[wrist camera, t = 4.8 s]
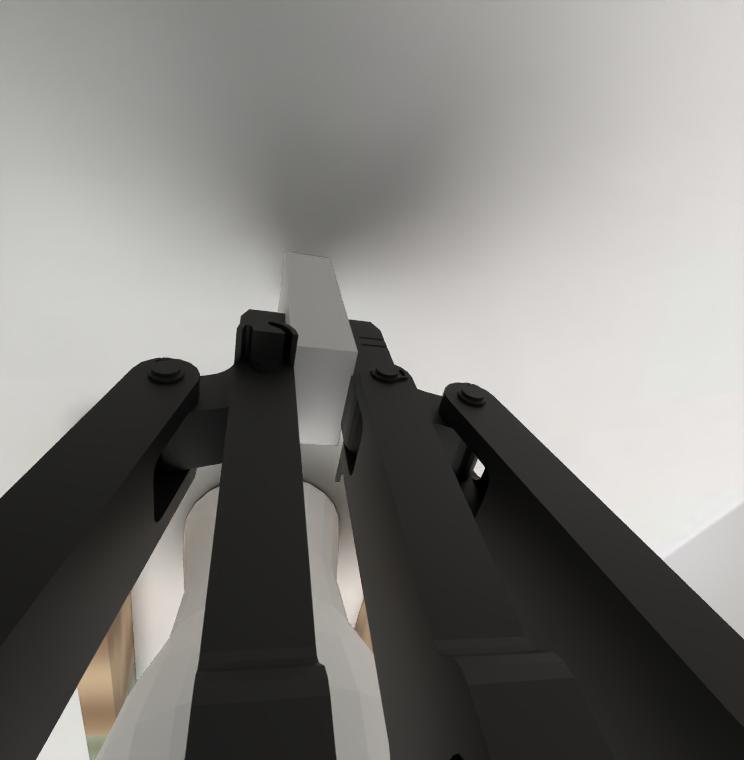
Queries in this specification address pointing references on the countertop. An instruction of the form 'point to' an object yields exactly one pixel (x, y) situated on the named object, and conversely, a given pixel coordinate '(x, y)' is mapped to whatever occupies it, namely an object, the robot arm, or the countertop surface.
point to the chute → (127, 676)
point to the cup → (181, 652)
